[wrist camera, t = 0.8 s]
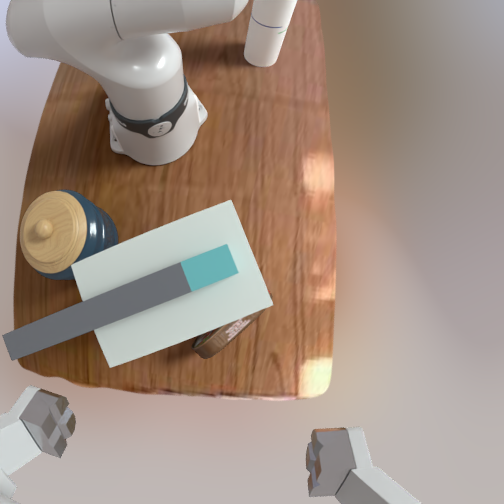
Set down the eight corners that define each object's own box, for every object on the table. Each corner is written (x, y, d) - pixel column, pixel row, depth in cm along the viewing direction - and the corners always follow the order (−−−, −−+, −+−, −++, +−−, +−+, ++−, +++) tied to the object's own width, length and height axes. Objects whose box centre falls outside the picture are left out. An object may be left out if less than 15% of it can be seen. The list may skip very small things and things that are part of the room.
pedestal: (133, 273, 52) (70, 265, 26) (220, 238, 54) (231, 199, 29) (155, 328, 51) (110, 367, 26) (243, 293, 54) (273, 304, 28)
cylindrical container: (239, 45, 58) (256, -43, 34) (271, 42, 60) (297, -43, 35) (249, 69, 58) (270, -22, 33) (281, 65, 59) (314, -21, 34)
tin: (257, 281, 55) (266, 281, 46) (269, 295, 55) (280, 297, 46) (191, 340, 52) (187, 351, 44) (203, 354, 52) (203, 367, 44)
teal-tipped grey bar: (15, 332, 25) (2, 335, 22) (225, 246, 28) (227, 243, 26) (24, 355, 25) (11, 360, 22) (236, 273, 28) (238, 273, 26)
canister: (58, 283, 50) (4, 282, 32) (55, 212, 51) (4, 187, 33) (123, 277, 52) (85, 274, 34) (118, 202, 53) (82, 169, 35)
